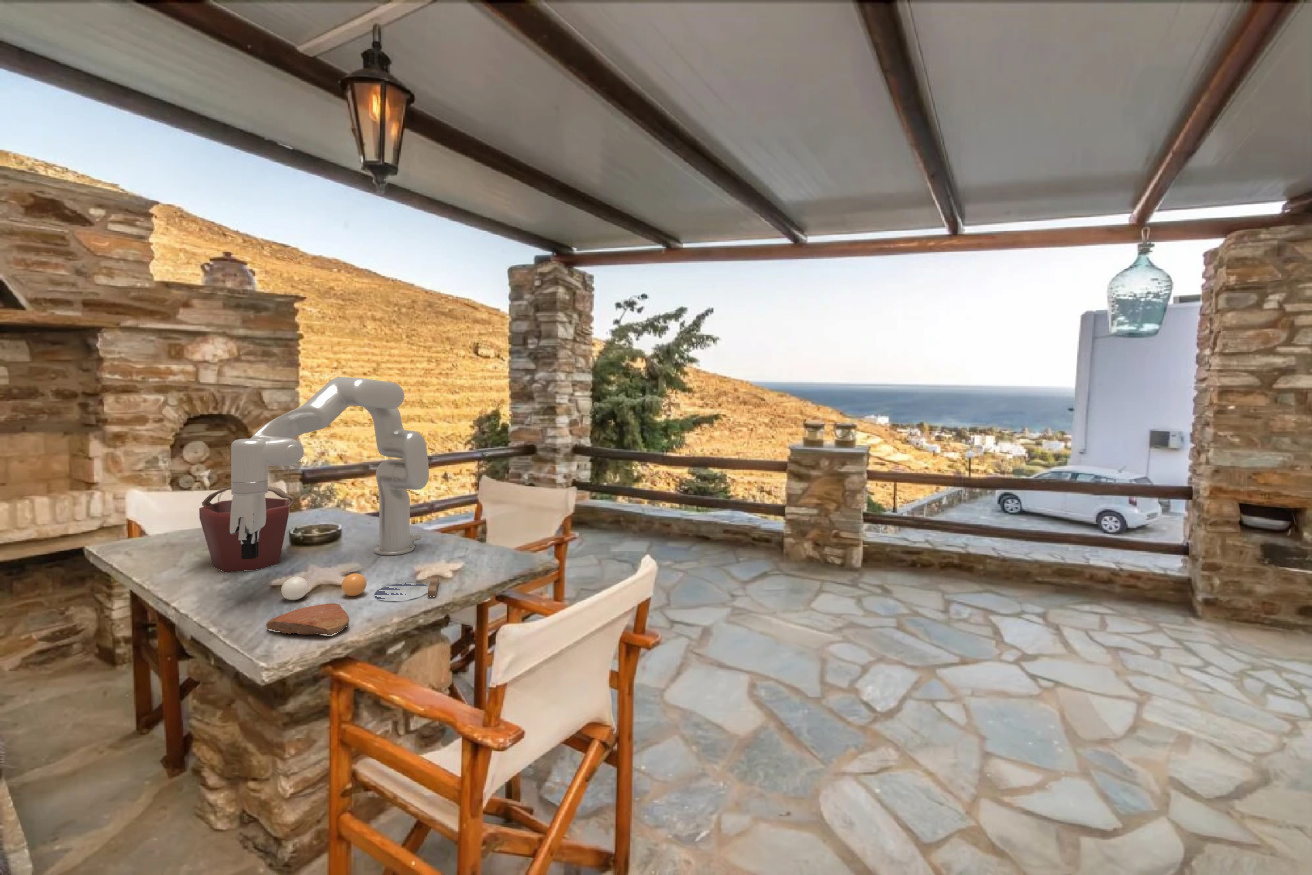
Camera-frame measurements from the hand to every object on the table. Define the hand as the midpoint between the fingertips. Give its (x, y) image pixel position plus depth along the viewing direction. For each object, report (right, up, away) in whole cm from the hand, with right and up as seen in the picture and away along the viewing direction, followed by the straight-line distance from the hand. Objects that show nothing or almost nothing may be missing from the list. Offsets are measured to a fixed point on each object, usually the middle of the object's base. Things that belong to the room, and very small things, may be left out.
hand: (250, 557), depth 140 cm
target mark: (+33, -12, +12) cm, 38 cm away
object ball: (+22, -9, +8) cm, 25 cm away
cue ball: (+9, -9, +4) cm, 13 cm away
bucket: (-22, -9, +29) cm, 38 cm away
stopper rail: (+41, -13, +15) cm, 45 cm away
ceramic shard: (+24, -15, -12) cm, 30 cm away
